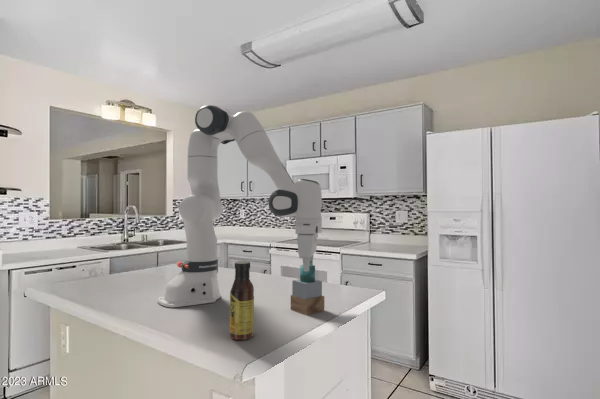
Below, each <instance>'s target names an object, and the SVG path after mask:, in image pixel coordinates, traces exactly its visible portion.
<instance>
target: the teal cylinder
mask: <svg viewBox="0 0 600 399" xmlns="http://www.w3.org/2000/svg"><path fill="white" fill-rule="evenodd" d="M299 279H300V281H301V282H315V280H316V265H314V264H313V265H310V268H309V271H308V272H306V271H304V270H303V264H302V265H300V266H299Z"/></svg>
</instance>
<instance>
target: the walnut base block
mask: <svg viewBox="0 0 600 399" xmlns="http://www.w3.org/2000/svg"><path fill="white" fill-rule="evenodd" d="M290 310H291V311H294V312H297V313H300V314H302V315H305V316H309V315H313V314H317V313H321V312H324V311H325V295H322V296H320V297H316V298H311V299H302V298H299V297H296V296H293V295H292V294H290Z"/></svg>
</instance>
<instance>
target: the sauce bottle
mask: <svg viewBox="0 0 600 399" xmlns="http://www.w3.org/2000/svg"><path fill="white" fill-rule="evenodd" d="M250 269H251V261H249V260H248V261H247V260H237V261H234V273H235V274H234V280H233V283H232V286H231V288H230V292H229V333H230V337H231V339H232V340H236V341H245V340H249V339H251V338H252V337H253V336H254V328H255V327H254V326H255V324H254V323H255V318H254V317H255V296H254V295H255V294H254V293H255V290H254V285H253V283H252V281H251V279H250V277H251V276H250Z"/></svg>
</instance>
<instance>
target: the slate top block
mask: <svg viewBox="0 0 600 399" xmlns="http://www.w3.org/2000/svg"><path fill="white" fill-rule="evenodd" d="M291 284H292V285H291V286H292V288H291V289H292V294H291V295H293V296H296V297H299V298H302V299H311V298H316V297H320V296H323V281H322V280H319V279H315V282H301V281H300V278H299V279H292V283H291Z"/></svg>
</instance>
